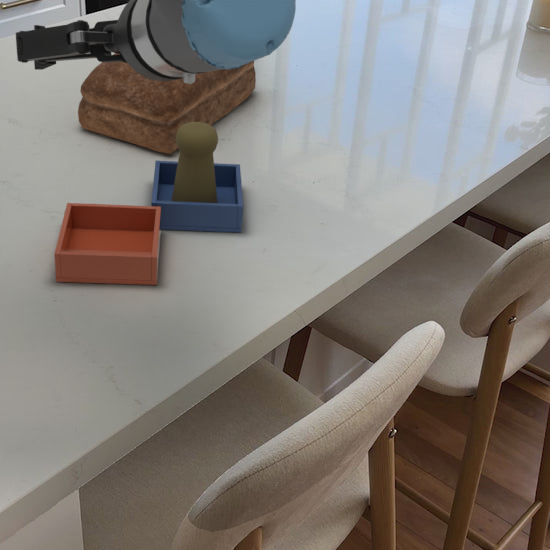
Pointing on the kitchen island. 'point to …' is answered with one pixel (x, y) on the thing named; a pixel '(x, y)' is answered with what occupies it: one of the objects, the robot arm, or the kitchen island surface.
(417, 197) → the kitchen island surface
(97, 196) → the kitchen island surface
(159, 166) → the blue bin
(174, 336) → the kitchen island surface
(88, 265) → the terracotta bin
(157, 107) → the bread
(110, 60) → the robot arm
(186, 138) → the olive green pawn
